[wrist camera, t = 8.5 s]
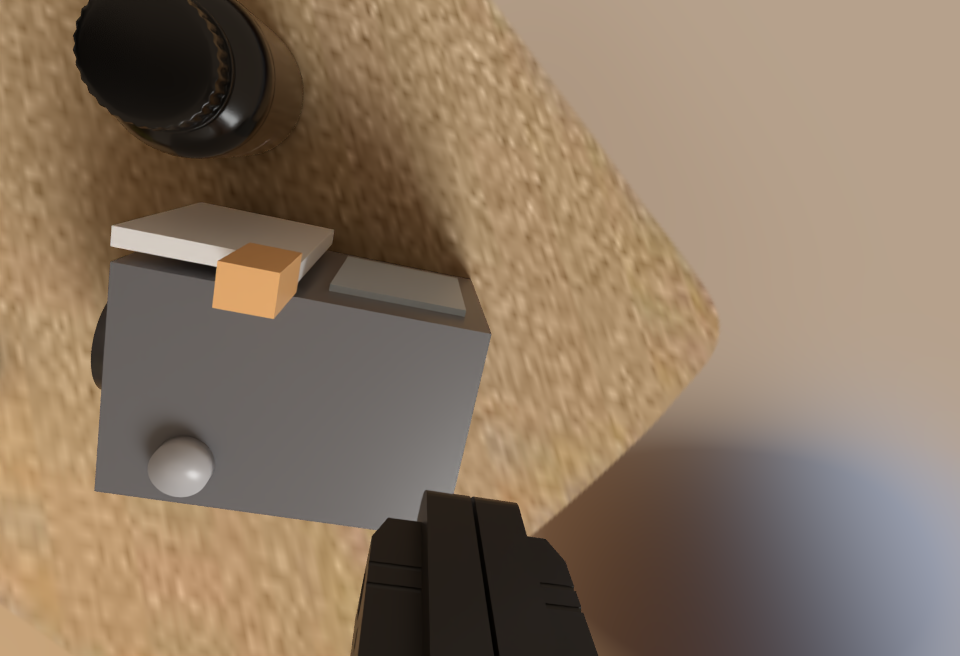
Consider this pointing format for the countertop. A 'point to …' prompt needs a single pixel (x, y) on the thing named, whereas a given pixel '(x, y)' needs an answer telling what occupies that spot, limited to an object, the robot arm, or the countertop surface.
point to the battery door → (232, 251)
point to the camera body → (287, 390)
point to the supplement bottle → (190, 75)
